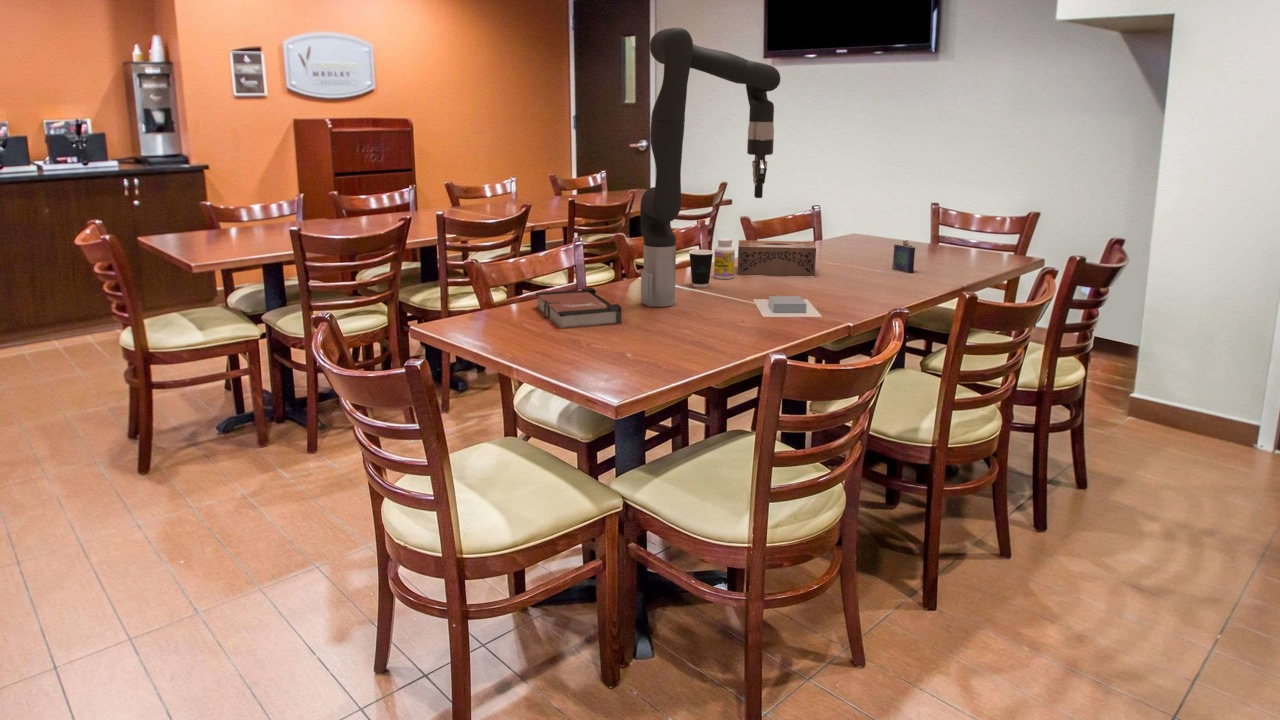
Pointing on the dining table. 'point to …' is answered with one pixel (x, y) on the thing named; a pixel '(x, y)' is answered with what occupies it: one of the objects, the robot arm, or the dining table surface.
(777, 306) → the tile
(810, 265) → the tissue box cover
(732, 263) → the supplement bottle
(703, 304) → the dining table surface
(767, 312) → the board
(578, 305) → the book
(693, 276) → the dixie cup
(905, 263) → the flask
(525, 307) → the dining table surface
